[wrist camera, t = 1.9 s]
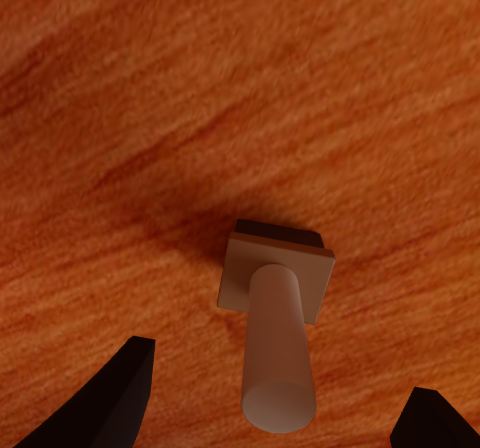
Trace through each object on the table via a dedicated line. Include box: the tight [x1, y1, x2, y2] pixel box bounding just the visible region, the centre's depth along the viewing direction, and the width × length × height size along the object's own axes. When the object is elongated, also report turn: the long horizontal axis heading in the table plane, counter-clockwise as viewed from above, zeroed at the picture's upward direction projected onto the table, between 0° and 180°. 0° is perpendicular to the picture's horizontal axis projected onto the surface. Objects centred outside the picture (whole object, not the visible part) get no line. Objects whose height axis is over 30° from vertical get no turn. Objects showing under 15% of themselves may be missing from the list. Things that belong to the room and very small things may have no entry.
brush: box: [217, 219, 336, 433], centre depth 13 cm, size 4×3×9 cm
